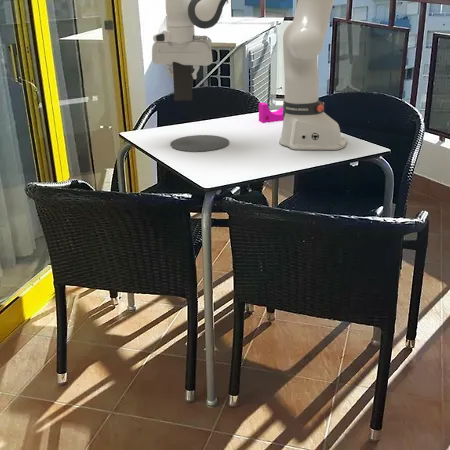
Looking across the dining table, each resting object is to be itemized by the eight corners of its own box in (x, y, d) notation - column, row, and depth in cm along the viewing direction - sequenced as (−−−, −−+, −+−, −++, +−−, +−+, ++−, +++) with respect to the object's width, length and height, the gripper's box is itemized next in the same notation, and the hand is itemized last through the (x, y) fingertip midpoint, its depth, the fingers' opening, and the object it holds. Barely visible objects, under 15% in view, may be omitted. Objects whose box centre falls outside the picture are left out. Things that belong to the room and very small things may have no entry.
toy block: (291, 117, 252) (291, 98, 249) (298, 120, 247) (298, 101, 244) (256, 121, 247) (256, 101, 244) (262, 124, 242) (262, 104, 239)
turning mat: (236, 138, 223) (236, 136, 223) (218, 153, 206) (218, 152, 206) (183, 135, 229) (183, 133, 229) (161, 149, 212) (161, 148, 212)
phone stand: (192, 100, 209) (190, 63, 204) (174, 101, 208) (172, 63, 204) (192, 95, 217) (190, 59, 212) (174, 95, 217) (172, 59, 212)
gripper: (214, 34, 205) (215, 78, 210) (156, 34, 211) (159, 76, 216) (208, 36, 200) (209, 81, 205) (148, 36, 206) (151, 79, 211)
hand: (183, 78), depth 211 cm, fingers closed on phone stand, 6 cm apart
